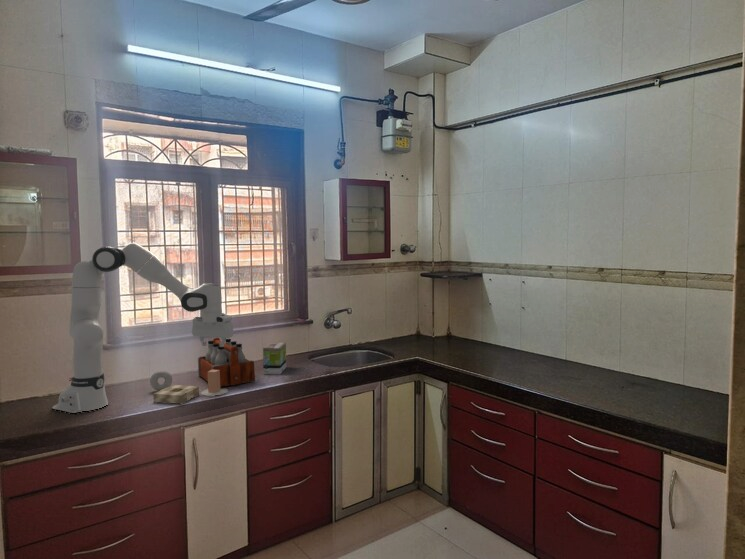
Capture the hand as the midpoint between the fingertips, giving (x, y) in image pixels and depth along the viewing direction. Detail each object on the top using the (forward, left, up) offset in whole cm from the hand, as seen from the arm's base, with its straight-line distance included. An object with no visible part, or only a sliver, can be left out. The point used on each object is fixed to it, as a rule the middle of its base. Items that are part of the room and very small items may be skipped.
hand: (212, 346), depth 238 cm
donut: (-27, -3, -23) cm, 35 cm away
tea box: (+11, +43, -23) cm, 50 cm away
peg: (0, 0, -22) cm, 22 cm away
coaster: (0, 0, -23) cm, 23 cm away
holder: (-12, -12, -23) cm, 28 cm away
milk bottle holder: (-7, +22, -22) cm, 32 cm away
